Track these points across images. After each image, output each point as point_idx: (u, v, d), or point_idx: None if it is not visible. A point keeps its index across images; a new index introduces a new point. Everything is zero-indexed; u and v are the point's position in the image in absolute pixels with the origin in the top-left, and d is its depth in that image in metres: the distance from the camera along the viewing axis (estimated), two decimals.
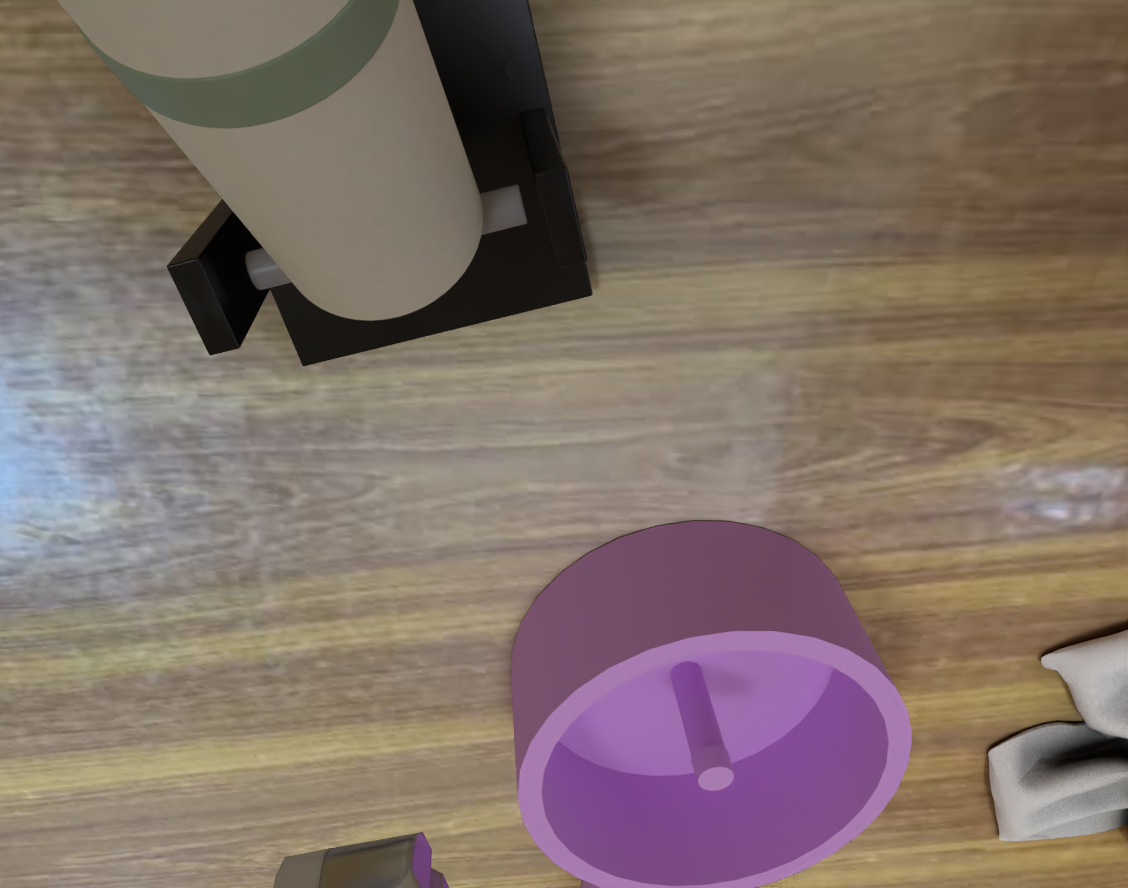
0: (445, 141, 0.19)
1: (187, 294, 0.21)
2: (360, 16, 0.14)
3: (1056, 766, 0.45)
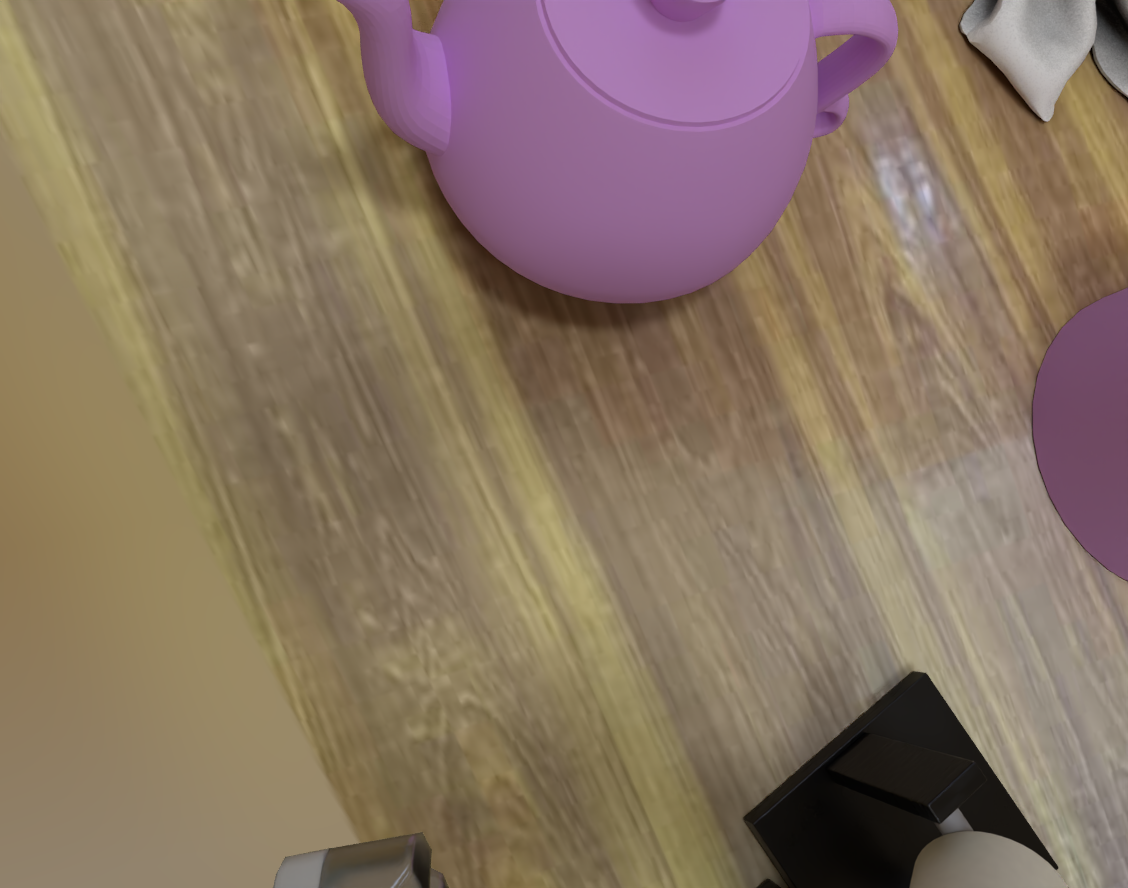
0: None
1: None
2: None
3: None
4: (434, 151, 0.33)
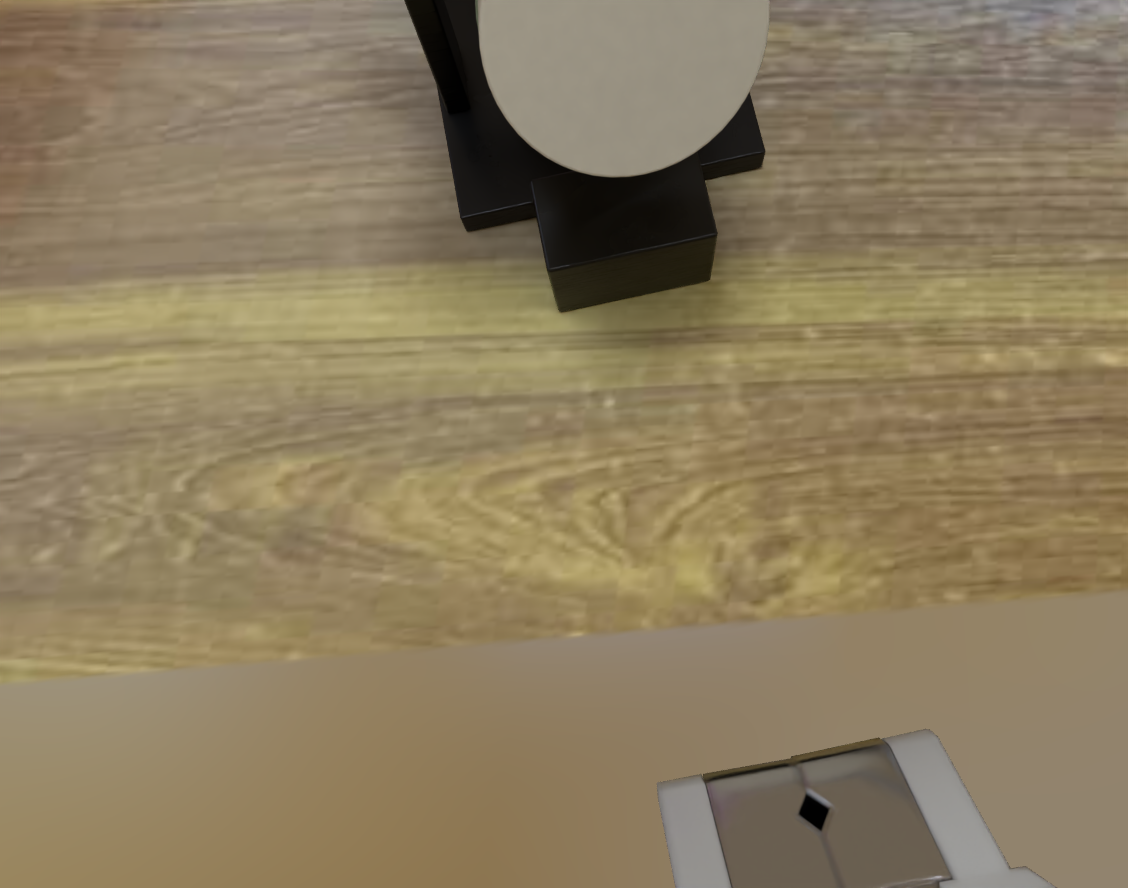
0: None
1: None
2: None
3: None
4: None
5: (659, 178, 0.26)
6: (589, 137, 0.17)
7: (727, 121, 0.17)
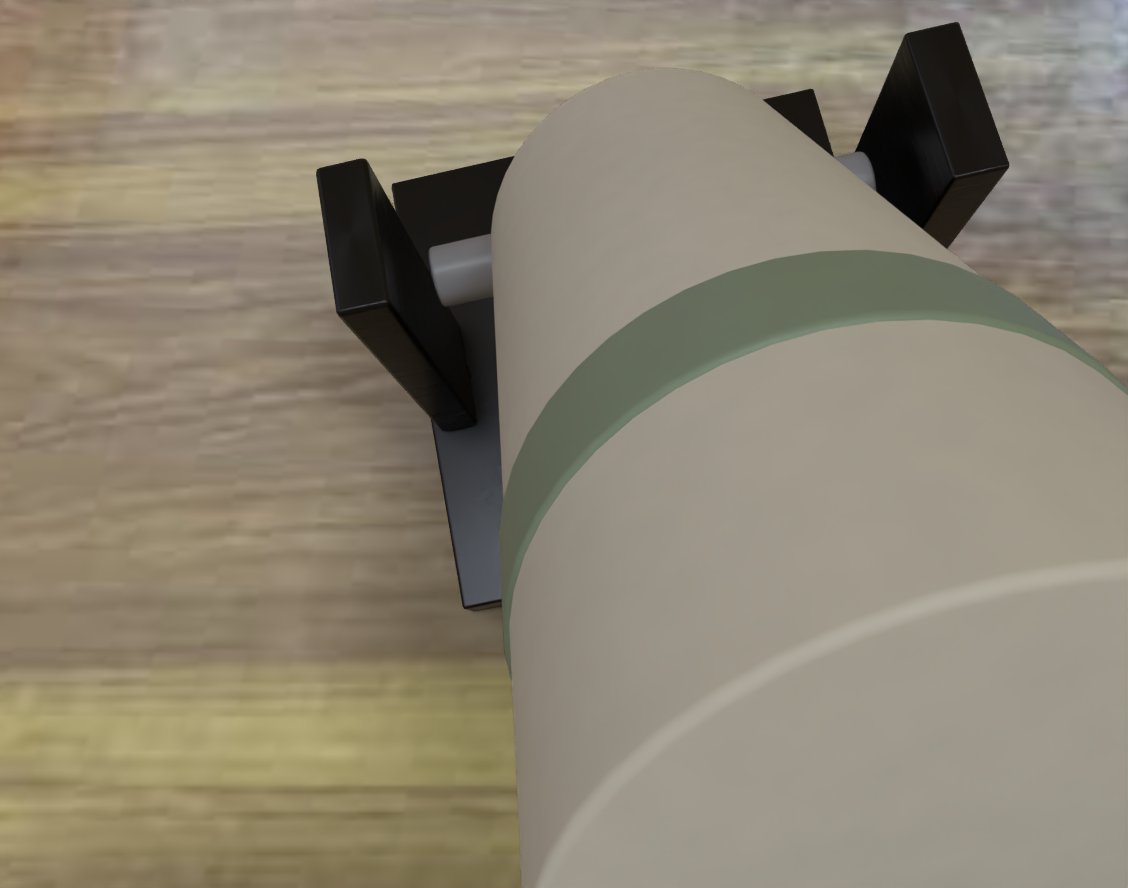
0: (498, 319, 0.11)
1: (981, 120, 0.13)
2: (549, 464, 0.07)
3: None
4: None
5: None
6: None
7: None
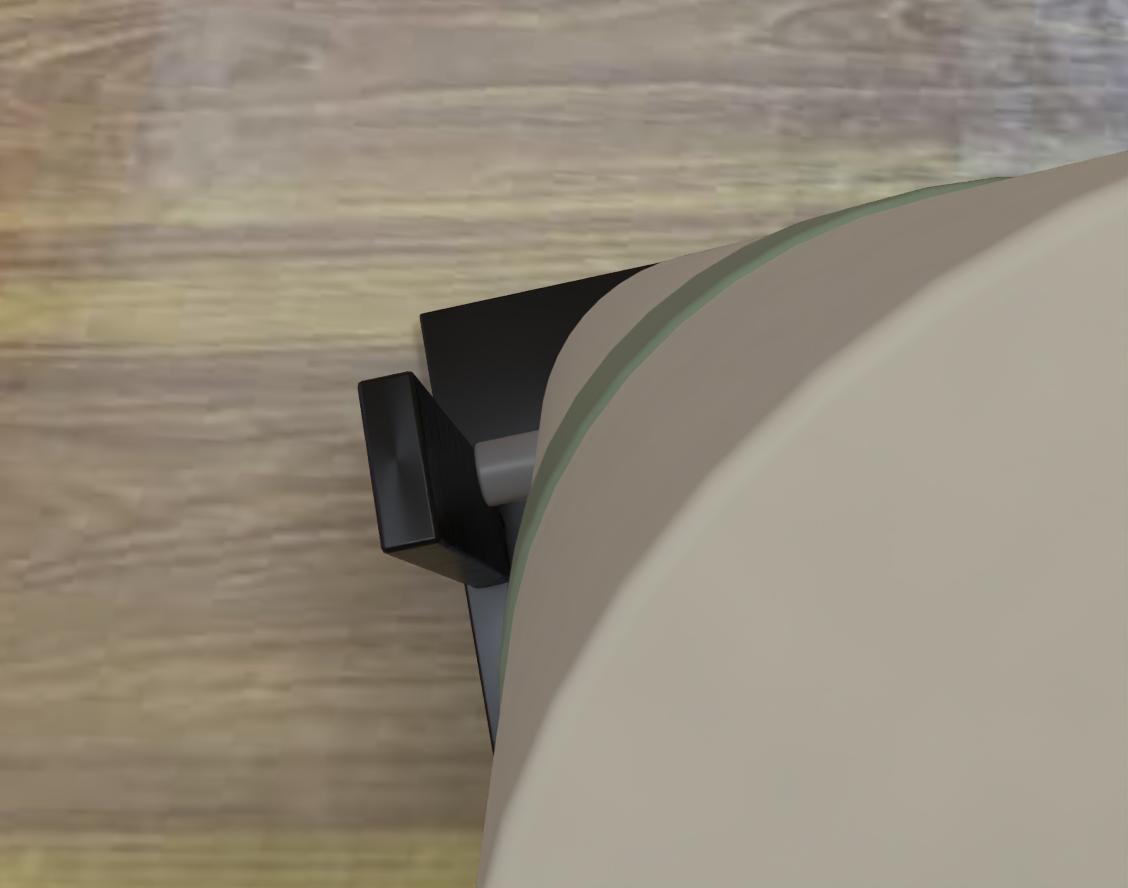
0: (536, 445, 0.09)
1: None
2: (569, 432, 0.05)
3: None
4: None
5: None
6: None
7: None
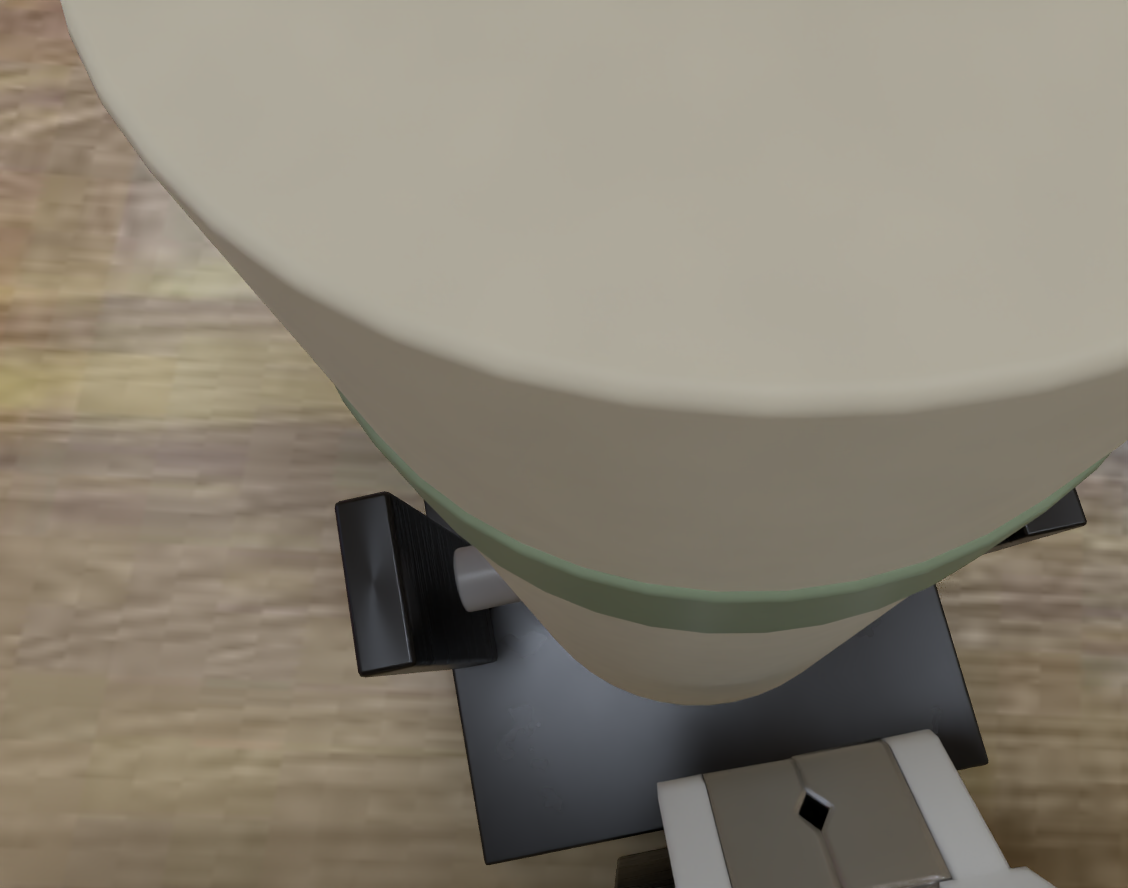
0: None
1: None
2: None
3: None
4: None
5: None
6: (585, 146, 0.03)
7: None
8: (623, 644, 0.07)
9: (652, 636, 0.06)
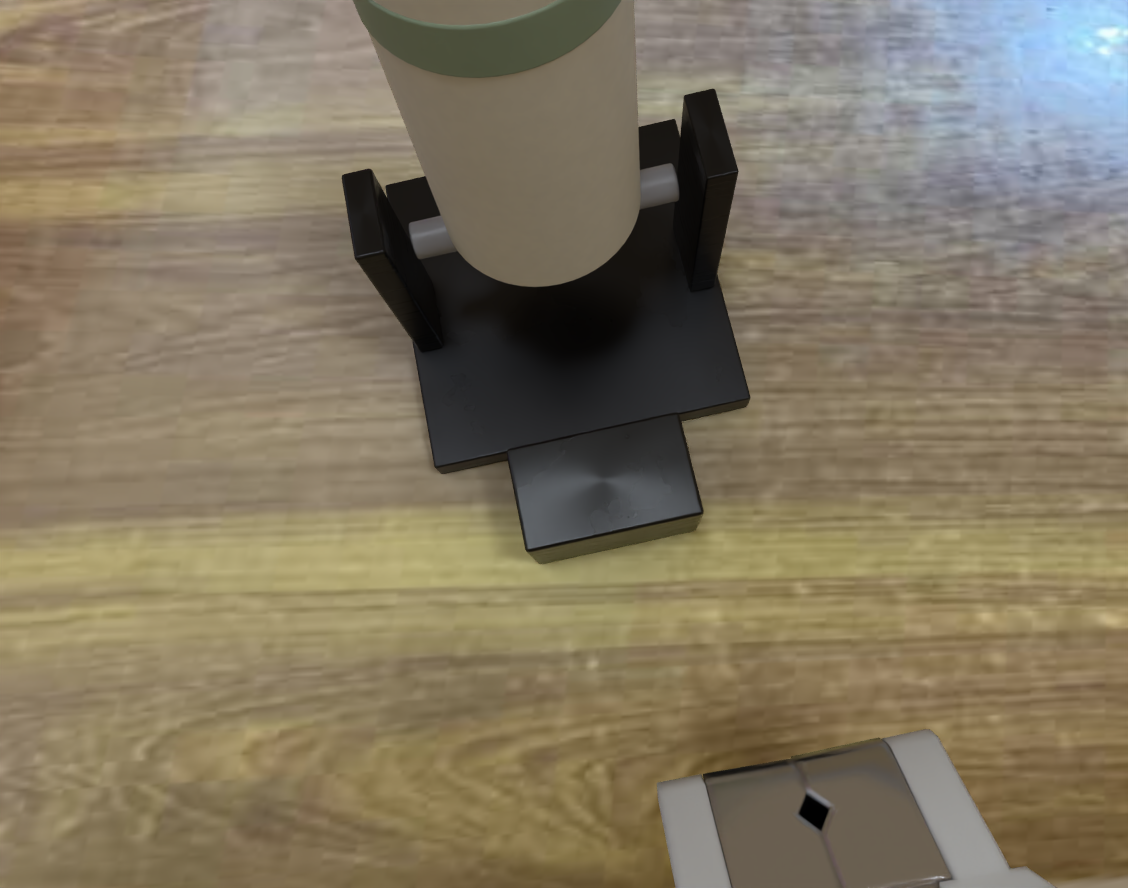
0: None
1: (723, 145, 0.22)
2: None
3: None
4: None
5: (641, 449, 0.25)
6: None
7: None
8: (465, 136, 0.17)
9: (467, 105, 0.17)
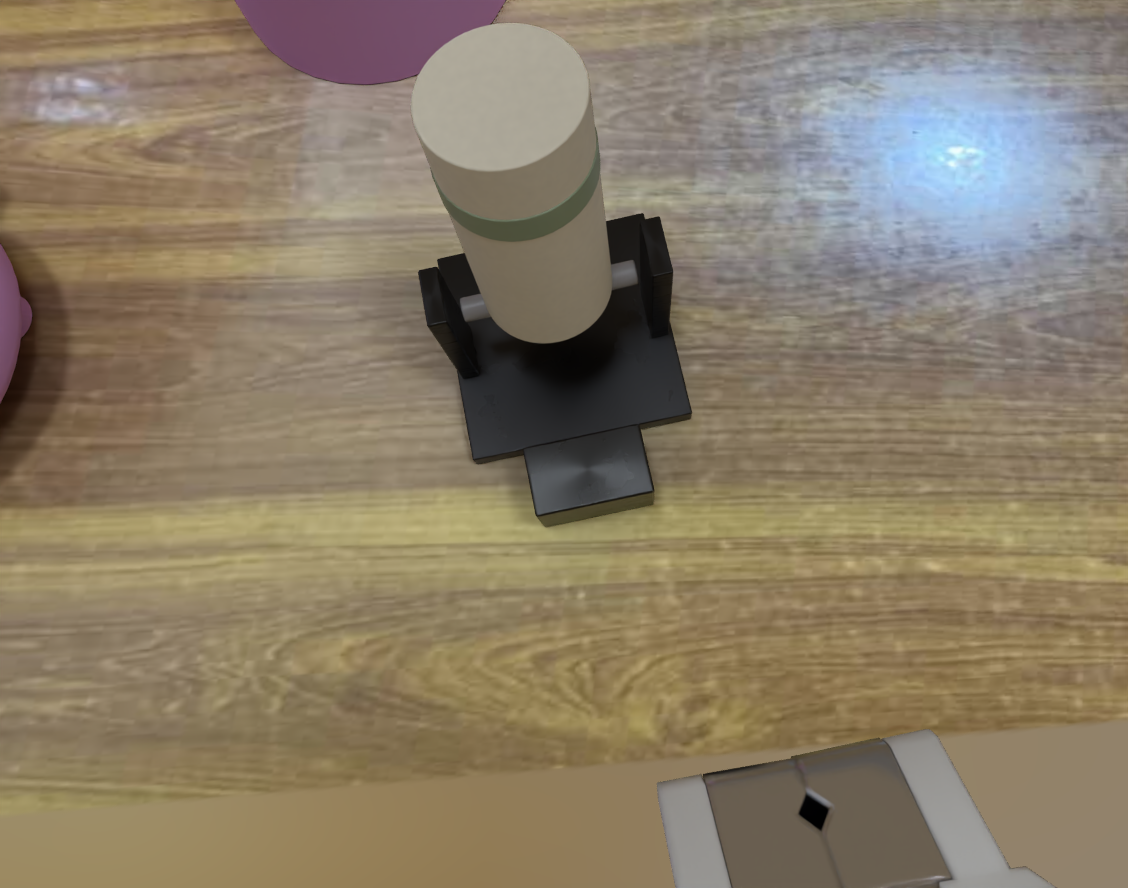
0: None
1: (664, 254, 0.34)
2: None
3: None
4: None
5: (613, 449, 0.37)
6: (475, 147, 0.25)
7: (568, 133, 0.25)
8: (501, 266, 0.30)
9: (504, 253, 0.29)
